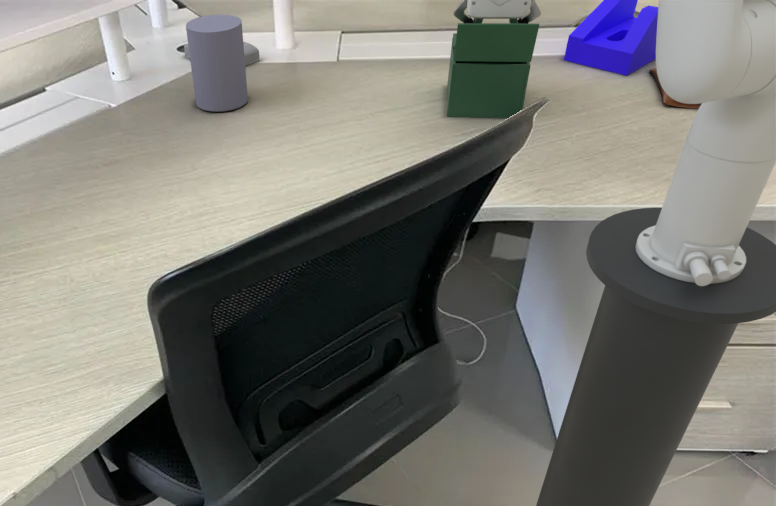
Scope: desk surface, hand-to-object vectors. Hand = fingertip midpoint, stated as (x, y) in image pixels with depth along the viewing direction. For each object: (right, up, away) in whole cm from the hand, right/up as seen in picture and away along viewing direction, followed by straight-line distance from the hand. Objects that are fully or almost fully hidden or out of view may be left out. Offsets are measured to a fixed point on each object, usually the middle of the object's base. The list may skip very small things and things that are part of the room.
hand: (490, 55), depth 124 cm
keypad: (-50, +13, +34) cm, 62 cm away
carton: (+1, -5, +9) cm, 10 cm away
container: (-49, -3, +15) cm, 51 cm away
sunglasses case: (+38, -3, +9) cm, 39 cm away
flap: (-1, 0, -6) cm, 6 cm away
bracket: (+35, +10, +24) cm, 43 cm away
